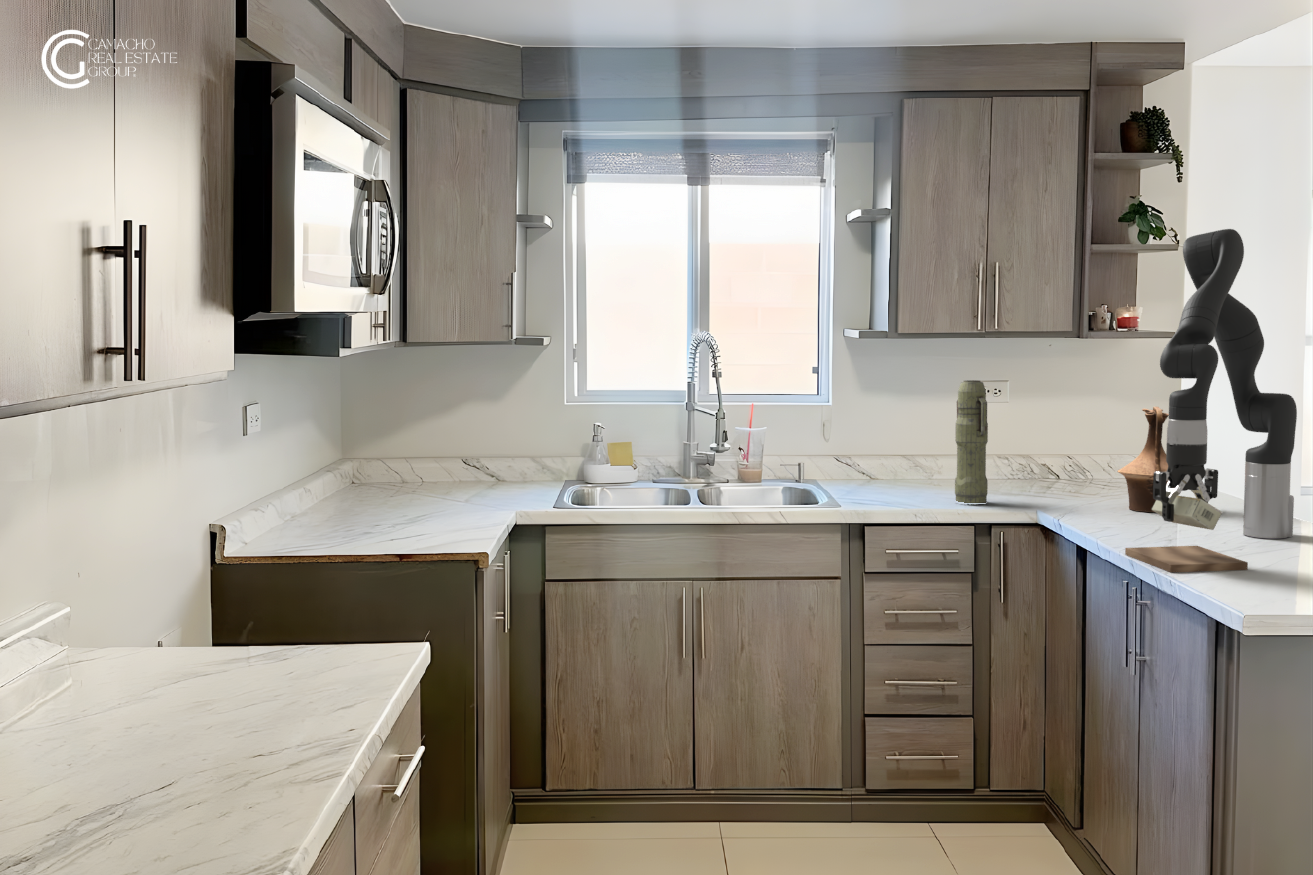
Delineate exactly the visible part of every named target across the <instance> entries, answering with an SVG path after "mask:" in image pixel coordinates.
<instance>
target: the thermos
mask: <svg viewBox="0 0 1313 875" xmlns="http://www.w3.org/2000/svg"><path fill="white" fill-rule="evenodd" d="M985 387H986V386H985V384H984V382H983V381H981V380H963V381H961V382H960V384H959V386H958V391H957V400H956V421H955V434H954V435H955V437H954V438H955V444H956V476H955V479H954V494H955V500H956V501H958V502H964V503H986V502H987V496H988V489H989V488H988V486H989V485H988V484H989V482H988V481H989V480H988V478H987V473H986V471H987V468H986V467H987V466H986V464H987V461H986V460H987V458H986V457H987V451H986V450H987V444H988V441H989V436H988V435H989V434H988V433H989V432H988V430H989V428H988V427H989V426H988V425H989V424H988V401H987V392H986V388H985ZM987 503H988V502H987Z"/></svg>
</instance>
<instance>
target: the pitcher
mask: <svg viewBox="0 0 1313 875" xmlns="http://www.w3.org/2000/svg"><path fill="white" fill-rule="evenodd" d="M1141 411H1143V412H1144V416H1145V418H1146V421H1147V423H1148V432H1147V438H1146V442H1145V445H1144V447H1143V449H1142V450H1141V452H1140V453H1139V455H1138V456H1137V457H1135V458H1134V459H1133V460H1132V461H1130V462H1128V463H1127V464H1126V465H1124V466H1122V467H1121V468H1120V469H1118V470H1117V473H1119V474H1121V475H1122V476H1123V477H1124V479H1125V481H1126V486H1127V495H1128V509H1129V510H1131V511H1137V512H1147V513H1155V512H1154V511H1153V510H1152V508H1153V506H1154V504H1155V502H1156V500H1155V499H1153V474H1154V472H1155V471H1159V472H1166V471H1167V469H1168V464H1167V462H1166V452H1165V450H1164V447H1163V444H1162V439H1163V424H1165V422H1166V420H1167V419H1168V418H1169V413H1166V412H1164V409H1163V408H1162V409H1161V408H1160V407H1159V406H1153V407H1152V409H1148V408H1142V409H1141ZM1167 479H1168V478H1167ZM1168 481H1169V479H1168ZM1168 481H1166V485H1167V483H1168ZM1172 489H1174V487H1173V488H1172Z"/></svg>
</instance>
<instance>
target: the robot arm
mask: <svg viewBox="0 0 1313 875" xmlns="http://www.w3.org/2000/svg"><path fill="white" fill-rule="evenodd" d="M1244 247H1245V246H1244V241H1243V238H1242V236H1241V234H1240V233H1239V232H1238V231H1237V230H1235V229H1234V228H1226V229H1225V228H1224V229H1220V230H1215V231H1210V232H1206V233H1200V234H1197V235H1193V236H1192V235H1191V236H1189V237H1188V238H1185V240H1184V242H1183V245H1182V256H1183V261H1184V263H1185V264H1184V265H1185V266H1186V269H1187V272H1188V274H1189V276H1190V279H1191V280H1192V282H1193V283H1192V284H1193V285H1194V287H1195V290H1196V291H1195V292H1194V293H1193V294H1192V295H1191V296H1190V298H1189V299H1188V300H1187V302H1186V303H1185V305H1184V307H1183V309H1182V313H1181V316H1180V320H1179V324H1178V327H1177V330H1176V331H1175V333H1174V334H1173V336H1172V337H1171V338H1170V340H1169V341H1168V342H1167V344H1166V345H1165V347H1164V348H1163V350H1162V353H1161V355H1160V359H1159V366H1160V370H1161V372H1162V373H1163V375H1164V376H1166V378H1168V379H1196V381H1195V383H1194V385H1193V386H1191V387H1190V388H1189V387H1188V388H1186V389H1179V390H1176V391H1172V392H1171V394H1170V395H1169V399H1168V414H1169V416H1168V423H1167V428H1166V452H1165V453H1166V462H1167V464H1168V469H1167V471H1166V472H1159V471H1155V472H1154V474H1153V499H1155V500H1158V501H1161V502H1162V516H1161V518H1162V519H1163V521H1164V522H1169V523H1172V522H1173V521H1174V504H1172V503H1173V502H1174V500H1175V498H1176V497H1177V495H1178V496H1180V495H1181V492H1183V491H1184V492H1186V491H1188V490H1189V491H1190V492H1192V493H1193V495H1194V496H1195V498H1198V499H1202V500H1203V501H1205V502H1207V503H1208V504H1209V502H1210V501H1211V500H1212V499H1216V498H1218V489H1219V488H1218V486H1219V484H1218V483H1219V470H1218V469H1213V468H1205V465H1206V464H1207V460H1208V459H1207V458H1208V457H1207V456H1208V455H1207V454H1208V425H1207V424H1208V422H1207V419H1208V418H1207V414H1208V407H1207V406H1208V399H1209V393H1210V388H1211V384H1212V382H1213V379H1214V377H1215V374H1216V370H1217V367H1218V364H1219V353H1220V356H1221V359H1222V362H1223V364H1224V367H1225V371H1226V373H1227V377H1228V381H1229V382H1230V383H1229V384H1230V389H1231V392H1232V397H1233V401H1234V404H1235V410H1236V413H1237V414H1236V415H1237V418H1238V420H1239V422H1240V424H1241V425H1242V427H1243V428H1244V429H1245V430H1246V431H1248V432H1254V433H1264V434H1265V433H1266V434H1267V437H1266V440H1265V442H1263V443H1261V445H1257V446H1254V447H1251V448H1248V449H1247V450H1246V452H1245V460H1244V461H1245V462H1244V463H1245V464H1244V465H1245V466H1244V495H1243V496H1244V497H1243V498H1244V499H1243V526H1242V529H1243V530H1242V531H1243V533H1242V534H1243V535H1244V536H1247V537H1252V538H1259V539H1286V538H1293V535H1294V508H1295V507H1294V505H1295V503H1294V502H1295V497H1294V495H1291V469H1292V456H1293V452H1294V449H1295V441H1296V440H1295V439H1296V428H1297V421H1298V420H1297V419H1298V418H1297V417H1298V416H1297V415H1298V411H1297V404H1296V401H1295V399H1294V397H1293V396H1292V395H1291V394H1287V393H1277V392H1276V393H1274V392H1261V391H1260V390H1259V388H1258V386H1257V382H1256V378H1255V373H1256V369H1257V366H1258V365H1259V362H1260V360H1261V357H1262V355H1263V352H1264V349H1265V339H1264V336H1263V333H1262V330H1261V326H1260V324H1259V321H1258V318H1257V316H1256V315H1255V313H1254V312H1253V311H1252V310H1251V309H1250V308H1249V307H1247V306H1246V305H1245V304H1243V303H1242V302H1240V301H1239V300H1238V298H1236V297H1234V296H1232V294H1230V293H1229V292H1230V290H1231V289H1232V287H1233V285H1234V282H1235V280H1236V279H1237V276H1238V273H1239V271H1240V269H1241V267H1242V264H1243V261H1244V256H1245V248H1244ZM1213 340H1215V343H1216V345H1217V346H1216V347H1217V348H1218V350H1217V349H1216V348H1215V347H1214V346H1212V344H1210V343H1212V341H1213ZM1218 352H1219V353H1218ZM1167 478H1168V479H1169V481H1168V479H1167ZM1203 479H1204V480H1203ZM1166 481H1168V483H1167V485H1166ZM1203 481H1204V482H1203ZM1173 487H1174V489H1172V488H1173Z"/></svg>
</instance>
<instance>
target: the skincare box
mask: <svg viewBox="0 0 1313 875" xmlns="http://www.w3.org/2000/svg"><path fill="white" fill-rule="evenodd" d="M1172 504H1174V521H1173V522H1171V523H1173V524H1178V525H1185V526H1189V527H1190V526H1191V527H1193V528H1194V527H1196V528H1200V529H1205V530H1211V531H1214V529H1215V528H1216V527H1217V526H1216V525H1217V524H1218V522H1219V519H1220V518H1221V515H1222V514H1223V512H1222V511H1221V510H1219V509H1218V508H1217V507H1215V506H1213V505H1212V504H1210V503H1209V502H1208V503H1207V502H1205V501H1203V500H1202V499H1198V498H1196V497H1191V496H1185V495H1177V497H1176V498H1175V500H1174V502H1173V503H1172ZM1152 510H1153V511H1154V512H1153V513H1156V514H1157V515H1158V516H1160V517H1162V502H1161V501H1158V500H1156V502H1155V504H1154V506H1153V508H1152Z"/></svg>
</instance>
